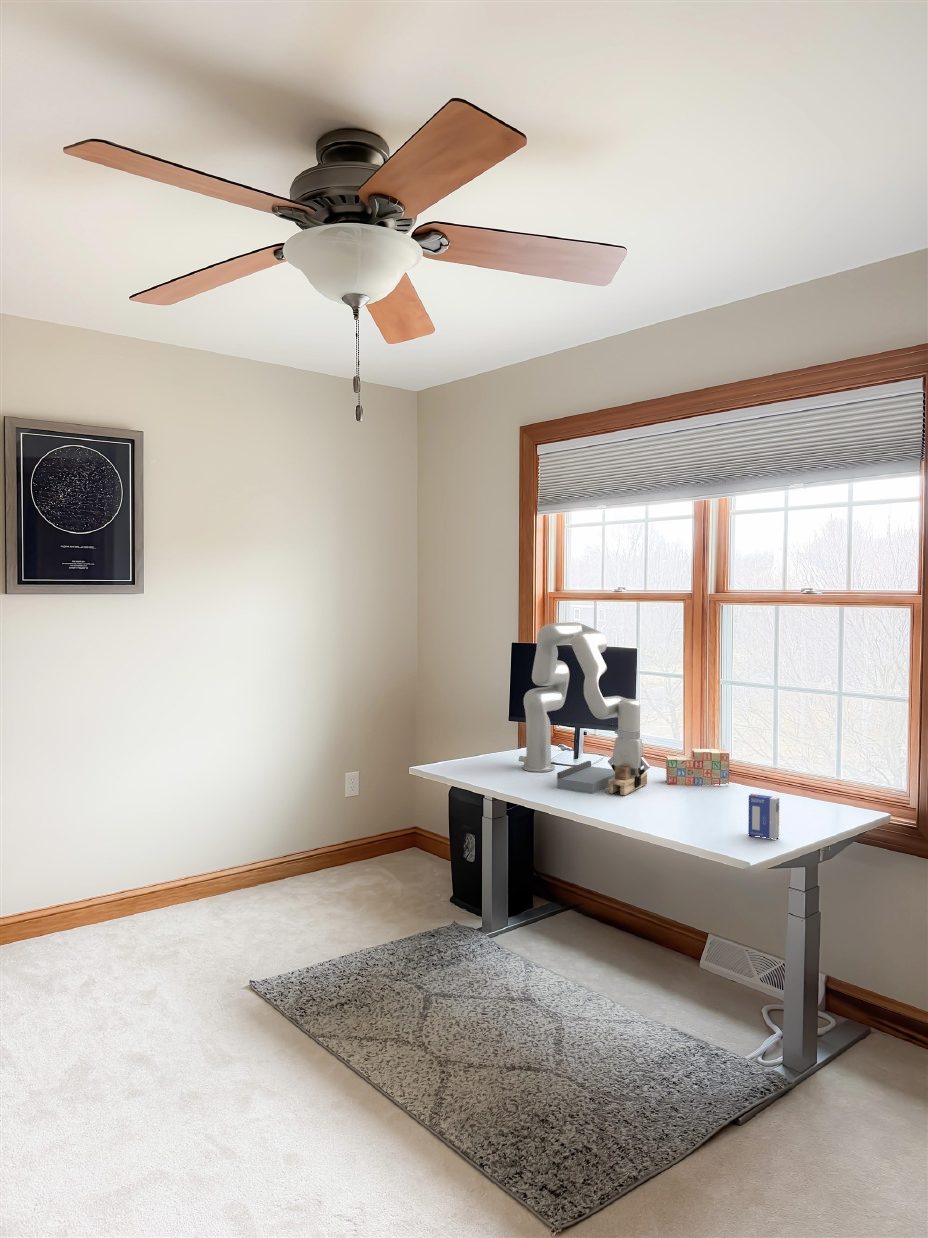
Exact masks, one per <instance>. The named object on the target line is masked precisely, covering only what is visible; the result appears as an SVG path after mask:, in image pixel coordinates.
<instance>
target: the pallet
mask: <svg viewBox="0 0 928 1238" xmlns="http://www.w3.org/2000/svg"><path fill="white" fill-rule="evenodd" d="M635 776H636V775H632V774H631V778H630V779H628V780H619V779H615V777H614V778H612V779H610V780H609V783H608V787H607V788H608V791H607V793H608V794H614V793H616V792H618V791H619V793H620V796H626V795H628V794H631V793H633V792H634V791H636V790H637V789H640V788H641V787H644V786H646V785H647V784H648V771H645V772H644V773H643V774H642V775H641V785H640V786H639V787H637V788H635Z"/></svg>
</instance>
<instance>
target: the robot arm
mask: <svg viewBox="0 0 928 1238" xmlns="http://www.w3.org/2000/svg"><path fill="white" fill-rule="evenodd" d="M536 637H537V638H536V651H535V655H534V661H533V666H532V673H531V679H532V683H533V684H535V686H537V687H536V688H532V689H529V690H528V691H526V692H525V694H524V697H523V706H524V707H523V708H524V713H525V726H526V727H525V730H526V731H525V734H526V736H525V737H526V739H525V741H526V743H525V744H526V745H525V746H526V747H525V748H526V749H525V751H526V754H525V755H526V756H524V755H519V756H518V762H521V763H522V762H523V764H522V770H525V771H527V772H534V773H544V772H551V771H554V770H555V768H556V766H555V765H554V764H552V759H551V758H552V755H551V754H552V751H551V750H552V741H551V739H552V733H551V732H552V731H551V729H552V727H551V721H550V720H551V719H550V717H549V715H548V714H547V713H548V712H552V711H557V710H560V709H562V708H563V706H564V704H565V701H566V698H567V692H568V688H569V682H570V669H569V667H568V665H567V663H566V662H565V661H562V660H559V659H558V656H559V651H558V646H570V645H571V648H572V650H573V652H574V655H575V657H576V660H577V662H578V663H579V665H580V667H581V670H582V672H583V674H584V681H583V696H584V699H585V701H586V703H587V705H588V708H589V710H590V713H592V715H593V716H594V717H595V718H597V719H598V720H607V719H611V718H612V719H614V718H617V719H618V720H617V721H618V722H617V727H618V728H617V729H615V730H614V734H616V735H617V737H615V740H614V744H613V751H612V757H610V758H609V759H608V760H607V764H608V765H609V766H610V767H611V769H613V770H614V771H615V767H617V766H619V765H622V766H629V767H631V769H634V771H635V773H636V776H635V788H637V787H639V786H640V785H641V775H642V774H643V773H644V772H647V771H648V770H649V769H650V768H651V766H650V765H649V763H648V762H647V760H645V757H644V756H645V754H644V745H643V740H642V739H641V702H640V701H639V700H638V699H634V698H626V697H623V696H620V695H612V696H605V697H603V694H602V692H601V689H600V687H599V680H600V677H601V676H602V675H603V674H604V673H605V672H606V671H607V669H608V667H607V664H606V662H605V660H604V659H603V656H602V653H604V652H606V649H607V648H608V641H607V638H606V636H605V634H603V633H602V632H601V631H599V630H597V629H595V628H593V627H590V626H587V625H585V624H583V623H580V622H554V623H547V624H545V625H543V626H542V627H541V628H540V629H539V630H538V632H537V636H536ZM538 686H539V687H538ZM640 767H641V768H640ZM642 767H643V768H642Z"/></svg>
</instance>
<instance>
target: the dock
mask: <svg viewBox="0 0 928 1238" xmlns="http://www.w3.org/2000/svg"><path fill="white" fill-rule="evenodd" d="M614 777H615V771H614V770H613V769H612V768H606V767H599V766H592V761H591V760H586V761H584V762H581V763H579V764H576V765H573V766H571V767H569V768H566V769H563V770H561V771H558V772H557V774H556V780H557V781H556V782H557V785H556V788H557V789H560V790H566V791H573V792H579V793H587V794H592V795H593V794H595V793H598V792H599V791H600V792H601V791H602V790H604V789H606V788H608V783H609V780H610V779H612V778H614Z"/></svg>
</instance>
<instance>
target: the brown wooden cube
mask: <svg viewBox="0 0 928 1238" xmlns="http://www.w3.org/2000/svg"><path fill="white" fill-rule="evenodd" d="M630 778H631V767H629V766H622V765H619V766H617V767H615V779H619V780H628V779H630Z"/></svg>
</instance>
